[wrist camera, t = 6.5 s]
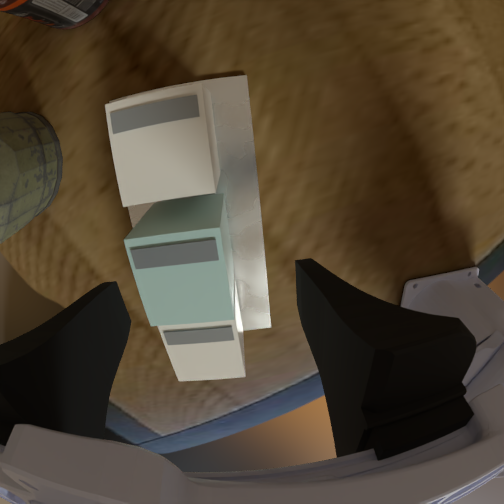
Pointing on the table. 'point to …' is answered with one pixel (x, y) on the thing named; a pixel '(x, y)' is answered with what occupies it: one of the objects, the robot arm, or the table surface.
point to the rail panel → (235, 194)
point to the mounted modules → (170, 187)
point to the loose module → (184, 261)
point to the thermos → (26, 169)
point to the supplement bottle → (55, 11)
